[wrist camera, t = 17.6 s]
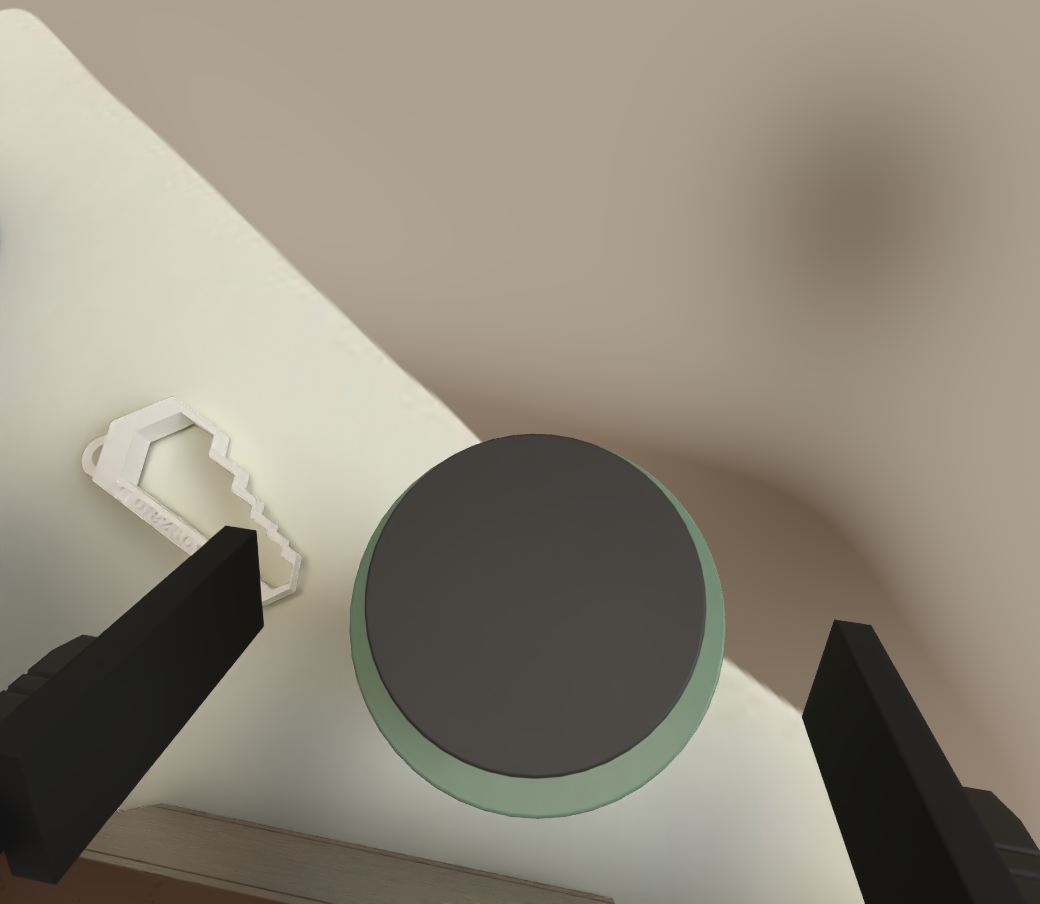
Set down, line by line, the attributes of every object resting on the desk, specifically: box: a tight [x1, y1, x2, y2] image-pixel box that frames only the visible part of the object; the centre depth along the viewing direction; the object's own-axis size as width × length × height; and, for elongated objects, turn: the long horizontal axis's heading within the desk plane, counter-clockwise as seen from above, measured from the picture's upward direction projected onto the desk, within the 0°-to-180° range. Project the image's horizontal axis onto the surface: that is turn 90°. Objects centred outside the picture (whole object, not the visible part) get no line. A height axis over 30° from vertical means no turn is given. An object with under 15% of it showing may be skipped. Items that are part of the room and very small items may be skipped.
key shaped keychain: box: [81, 397, 302, 607], centre depth 30 cm, size 13×5×2 cm, turn 56°
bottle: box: [350, 434, 726, 819], centre depth 18 cm, size 6×6×19 cm
